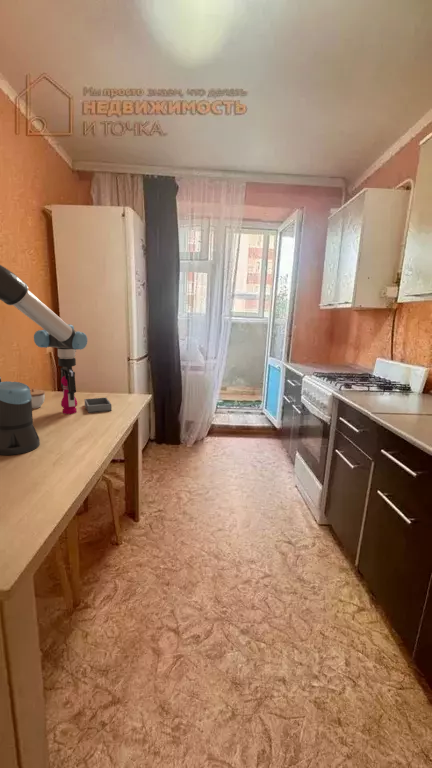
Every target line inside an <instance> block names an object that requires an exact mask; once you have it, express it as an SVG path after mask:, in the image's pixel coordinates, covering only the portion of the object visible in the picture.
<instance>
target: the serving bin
mask: <svg viewBox="0 0 432 768" xmlns="http://www.w3.org/2000/svg"><path fill="white" fill-rule="evenodd" d="M84 407H85V409H86V411H87V413H88V414H94V413H103V412H104V413H105V412H112V409H113V408H112V403H111V402H110V400H109V399H108V397H97V398H96V397H95V398H84Z"/></svg>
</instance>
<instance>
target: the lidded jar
mask: <svg viewBox="0 0 432 768" xmlns="http://www.w3.org/2000/svg"><path fill="white" fill-rule="evenodd" d="M30 393H31V396H32V397H31V400H32V410H33V409H38V408H41V406H42V405H43V404H44V402H45V399H46V397H45V395H46V392H45V390H42V389H34V388H31V389H30Z"/></svg>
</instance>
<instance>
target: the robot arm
mask: <svg viewBox="0 0 432 768" xmlns="http://www.w3.org/2000/svg"><path fill="white" fill-rule="evenodd" d="M0 301H1V302H3V303H4V304H6V305H7V306H13V307H14V308H16V309H17V310H19V311H20V312H21V313H22V314H23V315H25V316H27V318H29V319H30V320H31V321H33V322H34V323H35V324H36V325H38V326H39V327H40V328H41V329H39V330H36V331H35V333H34V334H33V341H34V343H35V345H36V346H37V347H39V348H44V349H45V348H56V349H57V357H58V359H57V361H58V366H59V367H60V374H61V375H60V380H61V379H62V377H63V376H65V379H67V384H68V391H69V392H68V393H67V394H68V402H69V407H72V406H75V398H76V395H75V393H77V386H76V378H75V377H76V372H75V371H74V369H73V367H75V366H76V365H77V362H76V361H77V360H76V352H77V350H80V351H81V350H84V349H85V348H86V347H87V344H88V336H87V334H86V333H85V332H83V331H82V332H81V331H78V330H77V331H76V330H75V327H74V325H73V324H68V323H67V322H65V321H64V320H63V319H62V318H61V317H60V316H58V314H56V313H55V312H54V311H53V310H52V309H51V308H50V307H48V306H47V305H46V304H45V303H44V302H42V301H41V300H40V299H39V298H38V297H37V296H36V295H35V294H34V293H33V292H32V291H30V290H29V286H28V285H27V283H26V282H24V280H22V279H21V278H20V277H19V276H17V275H16V274H15V273H14V272H13V271H11V270H9V269H8V268H6V267H5V266H3V265H1V264H0ZM60 383H61V384H60V385H61V386H60V387H61V389H62V397H63V396H64V389H63V384H62V382H61V381H60ZM30 390H31V389H30V387H29V386H28V384H26V383H23V382H18V381H11V380H10V381H9V380H7V381H2V377H1V376H0V456H14V455H15V456H16V455H20V454H25V453H28V452H29V453H30V452H31V451H33V450H35V449H37V448H39V447H40V444H41V441H40V437H39V435H38V433H37V430H36V429H35V426H34V422H33V409H32V400H31V397H32V396H31V393H30Z"/></svg>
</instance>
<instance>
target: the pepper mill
mask: <svg viewBox="0 0 432 768" xmlns="http://www.w3.org/2000/svg"><path fill="white" fill-rule="evenodd" d="M61 382H62V384H63V387H62V388H63V389H62V390H64V396H63V395H62V399H61V403H60V405H61V407H62V414H64V415H73V414H76V413H78V412H77V411H78V409H77V406H78V401H77V398H76V397H75V406H72V407H69V402H68V394H67V393H68V392H69V391H68V384H67V379H65V376H63V377H62V379H61V378H60V383H61Z"/></svg>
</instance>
